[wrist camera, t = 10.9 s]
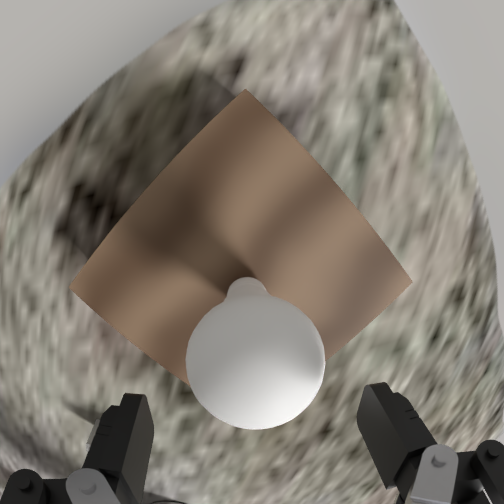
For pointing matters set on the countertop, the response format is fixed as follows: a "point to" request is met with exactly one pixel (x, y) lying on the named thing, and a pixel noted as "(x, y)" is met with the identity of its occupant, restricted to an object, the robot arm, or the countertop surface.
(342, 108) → the countertop surface
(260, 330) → the lightbulb
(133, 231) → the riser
